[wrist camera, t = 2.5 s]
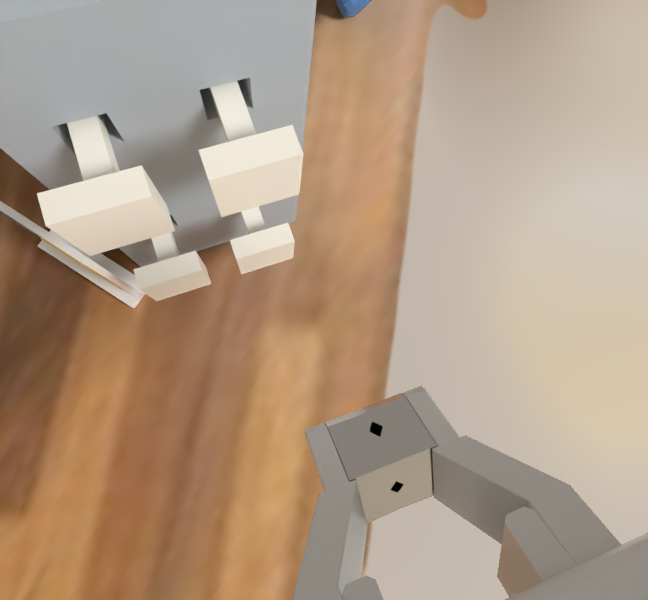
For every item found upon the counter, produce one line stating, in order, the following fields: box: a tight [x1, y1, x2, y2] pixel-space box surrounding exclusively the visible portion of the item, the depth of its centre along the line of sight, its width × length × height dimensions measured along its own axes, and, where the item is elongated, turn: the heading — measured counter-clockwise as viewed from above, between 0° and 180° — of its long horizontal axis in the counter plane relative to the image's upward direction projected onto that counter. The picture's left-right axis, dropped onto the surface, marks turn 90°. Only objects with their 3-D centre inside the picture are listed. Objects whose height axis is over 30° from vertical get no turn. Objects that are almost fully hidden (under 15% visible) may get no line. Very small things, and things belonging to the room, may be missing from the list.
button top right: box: [199, 81, 303, 217], centre depth 18 cm, size 4×6×4 cm, turn 20°
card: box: [0, 201, 145, 308], centre depth 28 cm, size 8×2×10 cm, turn 58°
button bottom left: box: [133, 232, 211, 301], centre depth 27 cm, size 4×6×4 cm, turn 20°
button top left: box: [37, 114, 175, 256], centre depth 17 cm, size 4×6×4 cm, turn 20°
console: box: [0, 0, 317, 267], centre depth 24 cm, size 12×8×22 cm, turn 110°
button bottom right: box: [230, 206, 295, 274], centre depth 28 cm, size 4×6×4 cm, turn 20°
